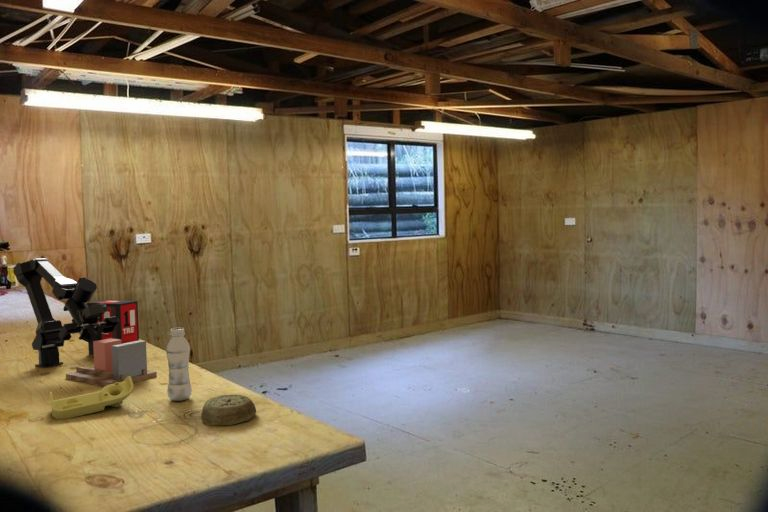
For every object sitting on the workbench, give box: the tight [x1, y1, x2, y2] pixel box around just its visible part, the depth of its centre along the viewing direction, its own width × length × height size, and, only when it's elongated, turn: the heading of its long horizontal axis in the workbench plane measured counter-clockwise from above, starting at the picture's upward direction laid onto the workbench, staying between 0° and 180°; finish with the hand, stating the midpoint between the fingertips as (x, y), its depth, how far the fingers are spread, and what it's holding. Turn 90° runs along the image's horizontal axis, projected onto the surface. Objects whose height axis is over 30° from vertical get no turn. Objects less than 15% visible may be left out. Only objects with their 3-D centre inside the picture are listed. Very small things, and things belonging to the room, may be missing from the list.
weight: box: [200, 394, 257, 427], centre depth 152 cm, size 14×13×5 cm
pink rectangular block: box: [93, 338, 122, 373], centre depth 195 cm, size 6×6×10 cm
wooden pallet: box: [65, 366, 158, 388], centre depth 195 cm, size 24×16×3 cm, turn 58°
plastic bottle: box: [165, 327, 193, 402], centre depth 168 cm, size 6×7×20 cm
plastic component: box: [48, 376, 134, 420], centre depth 161 cm, size 20×7×10 cm
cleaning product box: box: [86, 299, 140, 356], centre depth 232 cm, size 16×9×20 cm, turn 68°
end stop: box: [112, 339, 148, 381], centre depth 190 cm, size 3×10×10 cm, turn 148°
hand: (101, 347), depth 197 cm, fingers closed, pressing on pink rectangular block
